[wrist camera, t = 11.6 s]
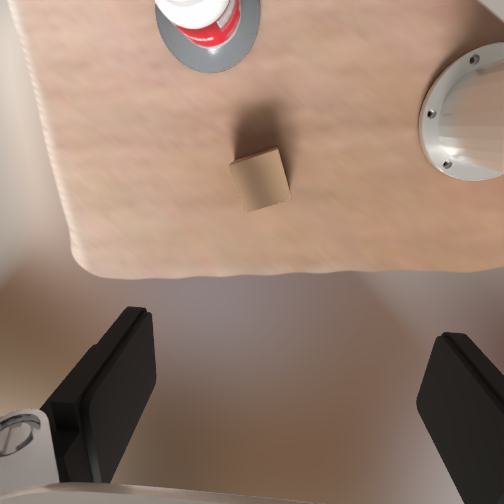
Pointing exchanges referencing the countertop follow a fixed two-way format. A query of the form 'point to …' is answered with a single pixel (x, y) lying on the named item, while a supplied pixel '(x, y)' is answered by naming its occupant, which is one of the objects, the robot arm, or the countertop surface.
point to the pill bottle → (204, 19)
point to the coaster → (215, 57)
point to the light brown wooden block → (260, 180)
